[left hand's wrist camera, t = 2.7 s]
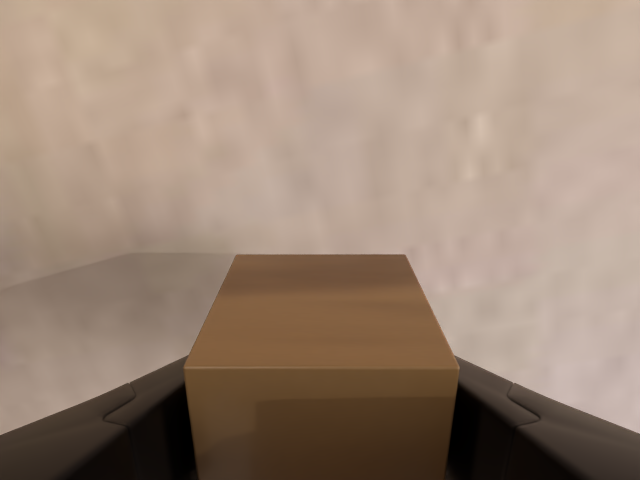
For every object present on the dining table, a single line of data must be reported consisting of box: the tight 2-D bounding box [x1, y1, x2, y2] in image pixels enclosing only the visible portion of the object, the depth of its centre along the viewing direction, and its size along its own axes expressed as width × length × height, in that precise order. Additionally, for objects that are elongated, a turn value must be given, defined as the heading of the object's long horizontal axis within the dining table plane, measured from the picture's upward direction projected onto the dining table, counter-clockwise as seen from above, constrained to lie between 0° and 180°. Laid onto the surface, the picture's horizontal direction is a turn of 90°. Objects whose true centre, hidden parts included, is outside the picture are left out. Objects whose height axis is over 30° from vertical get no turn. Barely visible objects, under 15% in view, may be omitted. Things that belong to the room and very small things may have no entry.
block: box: [183, 255, 460, 480], centre depth 10 cm, size 5×5×5 cm
